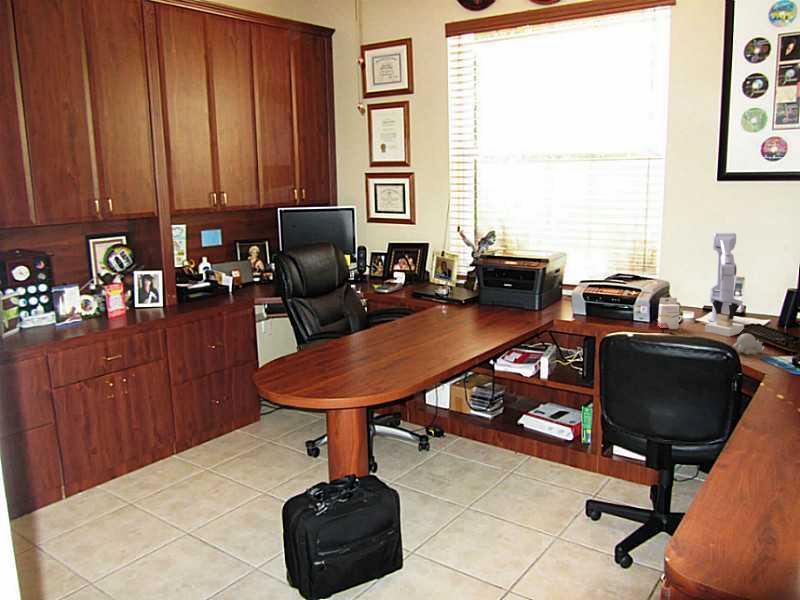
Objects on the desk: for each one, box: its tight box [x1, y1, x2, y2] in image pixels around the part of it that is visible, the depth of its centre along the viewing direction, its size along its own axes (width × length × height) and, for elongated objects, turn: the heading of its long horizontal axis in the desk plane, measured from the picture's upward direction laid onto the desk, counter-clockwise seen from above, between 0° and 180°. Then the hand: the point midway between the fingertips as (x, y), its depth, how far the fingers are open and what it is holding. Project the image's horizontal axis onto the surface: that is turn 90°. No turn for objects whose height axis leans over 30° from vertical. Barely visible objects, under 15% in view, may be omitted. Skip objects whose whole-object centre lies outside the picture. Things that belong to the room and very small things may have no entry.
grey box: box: [704, 321, 745, 337], centre depth 315 cm, size 12×12×4 cm
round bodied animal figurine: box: [732, 332, 765, 356], centre depth 281 cm, size 7×12×8 cm, turn 90°
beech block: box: [716, 313, 734, 326], centre depth 314 cm, size 5×5×5 cm
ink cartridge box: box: [657, 297, 680, 330], centre depth 324 cm, size 9×5×15 cm, turn 84°
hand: (725, 317), depth 314 cm, fingers open, 6 cm apart
